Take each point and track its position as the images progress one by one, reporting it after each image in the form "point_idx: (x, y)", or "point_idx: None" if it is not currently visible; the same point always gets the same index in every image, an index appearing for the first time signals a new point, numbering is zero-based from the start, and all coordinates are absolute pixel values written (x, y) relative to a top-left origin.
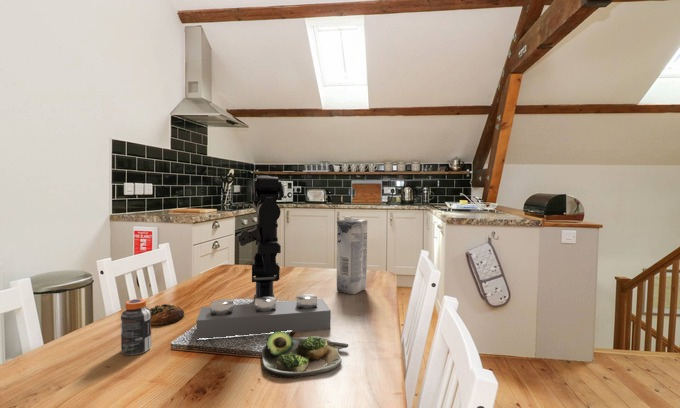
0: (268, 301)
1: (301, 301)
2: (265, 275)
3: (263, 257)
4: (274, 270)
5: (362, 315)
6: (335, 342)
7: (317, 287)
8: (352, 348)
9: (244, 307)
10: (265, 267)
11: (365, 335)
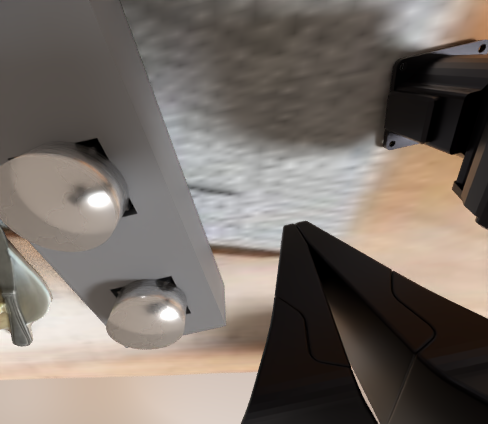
0: (33, 227)
1: (109, 316)
2: (480, 146)
3: (255, 389)
4: (478, 216)
5: (229, 340)
6: (22, 330)
7: (469, 255)
8: (50, 337)
9: (58, 77)
10: (281, 262)
11: (121, 348)
